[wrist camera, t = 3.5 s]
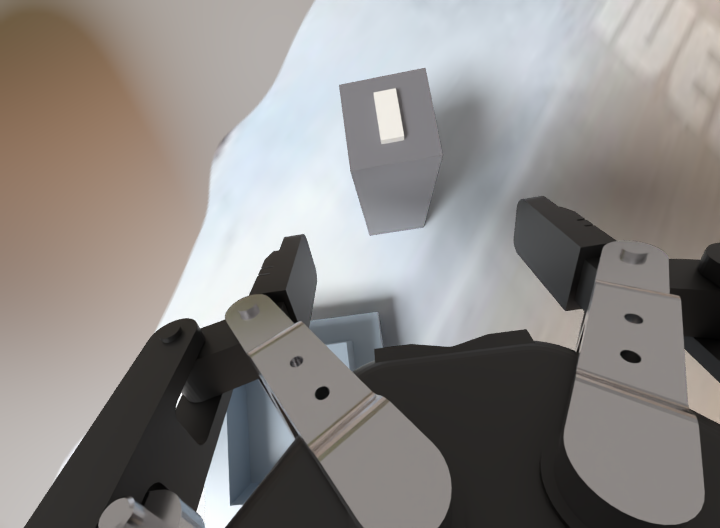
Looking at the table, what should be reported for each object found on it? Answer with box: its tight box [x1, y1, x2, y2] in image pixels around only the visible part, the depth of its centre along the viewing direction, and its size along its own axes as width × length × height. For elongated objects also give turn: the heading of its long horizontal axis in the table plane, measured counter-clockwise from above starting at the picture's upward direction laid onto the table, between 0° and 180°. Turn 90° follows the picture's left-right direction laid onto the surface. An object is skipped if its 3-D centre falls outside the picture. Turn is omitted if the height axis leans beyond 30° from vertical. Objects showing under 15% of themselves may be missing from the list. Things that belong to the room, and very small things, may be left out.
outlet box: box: [204, 312, 384, 528], centre depth 19 cm, size 12×12×4 cm
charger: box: [339, 68, 443, 236], centre depth 19 cm, size 4×4×10 cm
